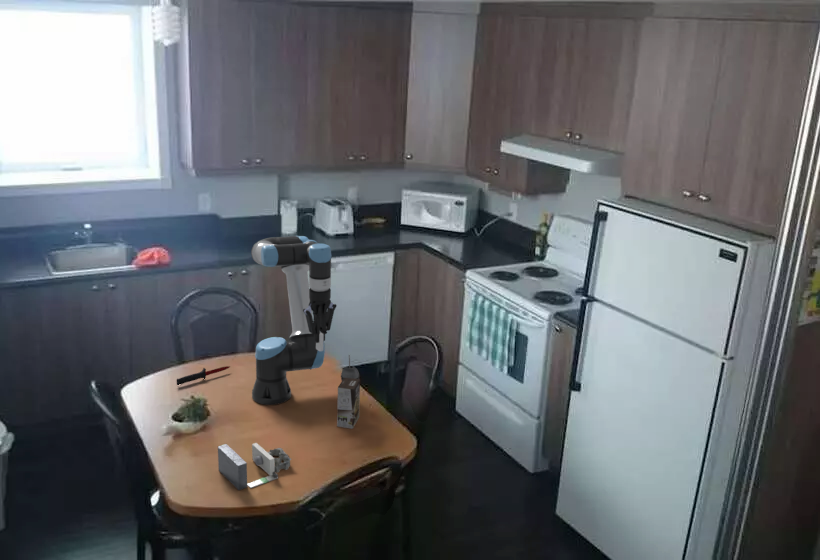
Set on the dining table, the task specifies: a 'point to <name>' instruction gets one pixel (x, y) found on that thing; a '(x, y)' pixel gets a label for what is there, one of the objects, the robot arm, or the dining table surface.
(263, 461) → the spring plate
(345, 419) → the coffee box
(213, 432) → the dining table surface
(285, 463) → the egg carton
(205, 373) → the knife
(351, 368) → the beverage cup
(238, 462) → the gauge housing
